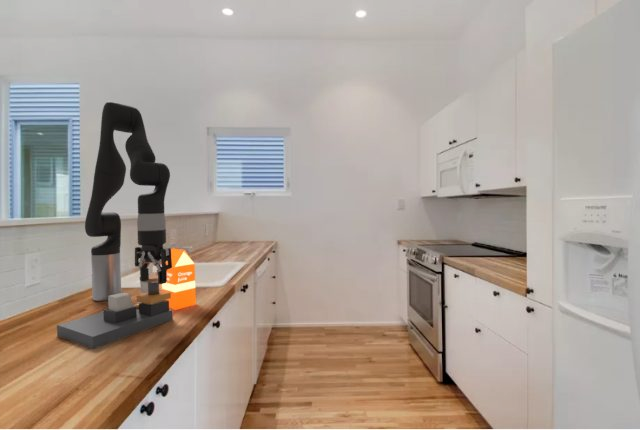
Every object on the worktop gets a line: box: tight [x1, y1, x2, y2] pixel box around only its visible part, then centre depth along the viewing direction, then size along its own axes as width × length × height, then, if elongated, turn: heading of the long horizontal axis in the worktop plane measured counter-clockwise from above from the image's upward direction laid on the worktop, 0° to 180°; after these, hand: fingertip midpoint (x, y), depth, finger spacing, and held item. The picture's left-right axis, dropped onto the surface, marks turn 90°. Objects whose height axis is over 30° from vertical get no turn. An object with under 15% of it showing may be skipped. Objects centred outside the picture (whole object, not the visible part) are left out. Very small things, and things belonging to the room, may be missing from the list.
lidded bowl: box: [139, 269, 162, 294], centre depth 119 cm, size 13×13×11 cm
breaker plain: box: [107, 292, 132, 312], centre depth 89 cm, size 4×4×4 cm
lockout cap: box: [135, 281, 171, 304], centre depth 94 cm, size 7×7×5 cm
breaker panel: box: [56, 300, 173, 350], centre depth 90 cm, size 18×22×6 cm
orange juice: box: [162, 247, 197, 311], centre depth 110 cm, size 8×9×20 cm
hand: (153, 282), depth 94 cm, fingers open, 8 cm apart
